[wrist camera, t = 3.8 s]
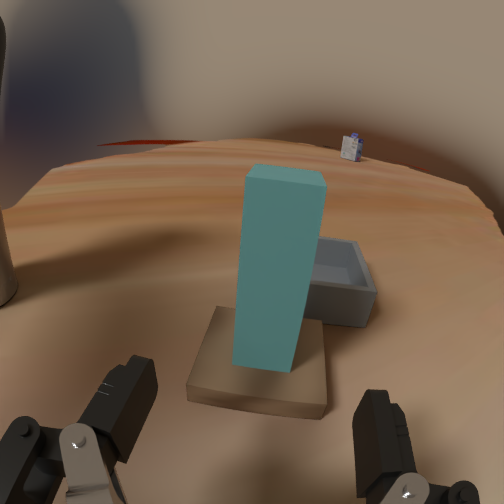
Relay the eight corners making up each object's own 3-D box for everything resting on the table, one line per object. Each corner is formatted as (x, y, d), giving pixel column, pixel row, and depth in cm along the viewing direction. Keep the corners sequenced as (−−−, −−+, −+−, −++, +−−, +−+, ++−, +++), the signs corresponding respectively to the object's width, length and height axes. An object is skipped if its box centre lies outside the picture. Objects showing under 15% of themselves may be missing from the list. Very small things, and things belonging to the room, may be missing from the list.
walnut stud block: (187, 400, 21) (183, 347, 19) (216, 322, 30) (217, 272, 28) (320, 419, 21) (341, 369, 18) (317, 336, 30) (330, 287, 27)
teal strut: (231, 364, 23) (245, 176, 17) (241, 329, 27) (255, 163, 21) (289, 372, 22) (327, 186, 16) (291, 336, 26) (320, 171, 20)
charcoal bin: (246, 313, 32) (250, 275, 30) (260, 259, 43) (263, 228, 41) (365, 327, 31) (377, 292, 29) (349, 271, 42) (356, 241, 40)
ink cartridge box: (360, 161, 154) (364, 135, 148) (355, 161, 151) (359, 134, 144) (345, 157, 161) (349, 132, 154) (340, 157, 157) (343, 131, 151)
